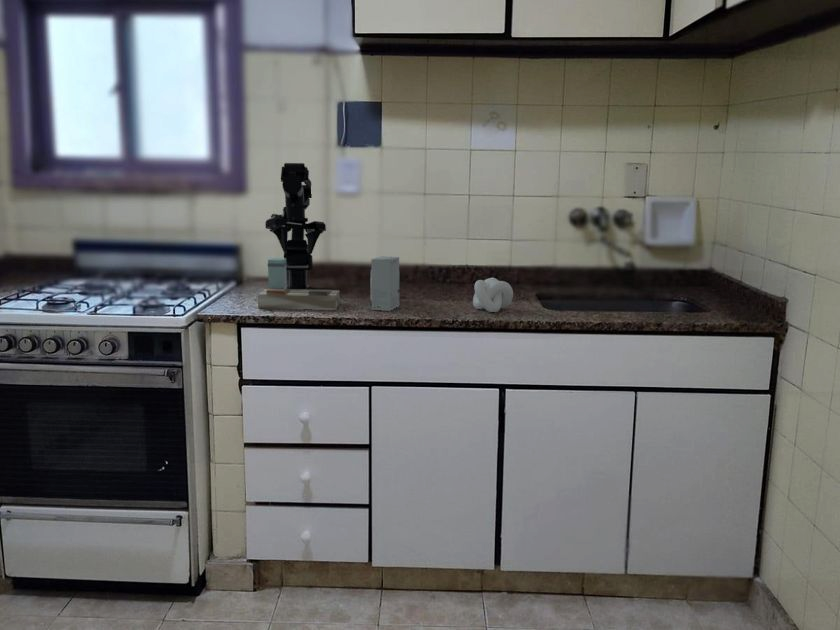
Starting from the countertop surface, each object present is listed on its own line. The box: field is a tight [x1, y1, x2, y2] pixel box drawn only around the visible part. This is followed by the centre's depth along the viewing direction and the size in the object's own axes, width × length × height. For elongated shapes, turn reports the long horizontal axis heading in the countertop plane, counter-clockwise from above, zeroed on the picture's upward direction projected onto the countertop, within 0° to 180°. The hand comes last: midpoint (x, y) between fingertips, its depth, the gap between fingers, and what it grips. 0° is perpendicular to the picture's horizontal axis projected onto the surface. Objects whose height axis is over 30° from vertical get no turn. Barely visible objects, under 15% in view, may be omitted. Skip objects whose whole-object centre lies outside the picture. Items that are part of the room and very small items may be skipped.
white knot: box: [472, 277, 514, 313], centre depth 219 cm, size 11×12×9 cm
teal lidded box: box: [267, 257, 288, 289], centre depth 228 cm, size 5×5×12 cm
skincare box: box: [370, 256, 400, 312], centre depth 219 cm, size 8×6×15 cm
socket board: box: [257, 288, 341, 311], centre depth 221 cm, size 10×22×5 cm, turn 89°
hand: (297, 253), depth 233 cm, fingers open, 9 cm apart
